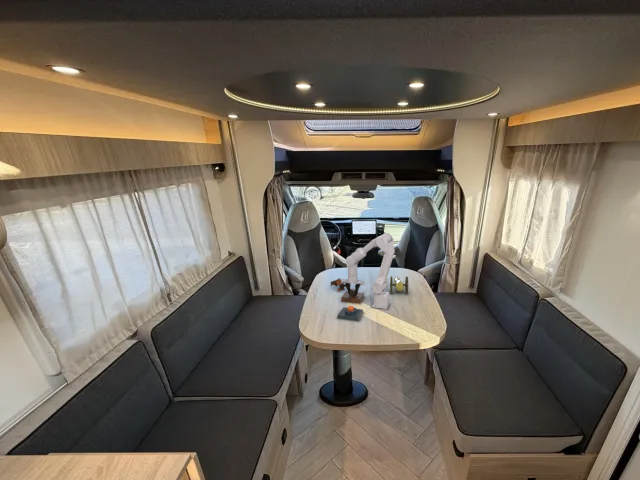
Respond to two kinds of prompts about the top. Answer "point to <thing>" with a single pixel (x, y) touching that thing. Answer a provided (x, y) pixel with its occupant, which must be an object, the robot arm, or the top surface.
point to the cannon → (398, 284)
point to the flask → (350, 314)
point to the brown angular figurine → (338, 282)
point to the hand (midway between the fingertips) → (353, 294)
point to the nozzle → (350, 308)
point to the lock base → (352, 298)
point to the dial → (352, 292)
